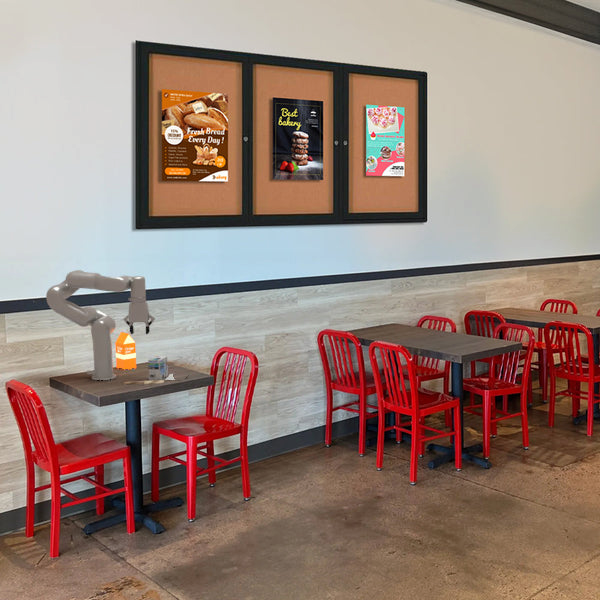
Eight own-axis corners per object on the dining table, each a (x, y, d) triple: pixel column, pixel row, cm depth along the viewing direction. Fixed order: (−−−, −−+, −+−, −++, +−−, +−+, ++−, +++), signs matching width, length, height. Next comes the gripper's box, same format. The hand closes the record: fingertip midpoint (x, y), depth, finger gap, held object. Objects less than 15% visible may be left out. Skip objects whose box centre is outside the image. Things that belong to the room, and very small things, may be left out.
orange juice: (124, 370, 417) (122, 334, 415) (116, 367, 424) (114, 332, 421) (136, 368, 423) (135, 332, 420) (128, 365, 429) (127, 330, 427)
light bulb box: (160, 380, 391) (159, 360, 390) (148, 380, 393) (147, 359, 391) (168, 376, 402) (167, 356, 400) (156, 375, 403) (155, 355, 402)
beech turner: (123, 385, 381) (123, 383, 381) (123, 382, 387) (123, 381, 387) (163, 383, 386) (163, 381, 385) (163, 380, 391) (163, 379, 391)
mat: (164, 380, 391) (164, 379, 391) (170, 374, 405) (170, 373, 405) (184, 380, 391) (184, 379, 391) (189, 374, 405) (189, 373, 404)
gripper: (119, 301, 389) (121, 335, 391) (153, 301, 388) (154, 335, 391) (123, 299, 397) (125, 332, 399) (156, 299, 396) (157, 332, 398)
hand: (139, 333), depth 395 cm, fingers open, 7 cm apart
